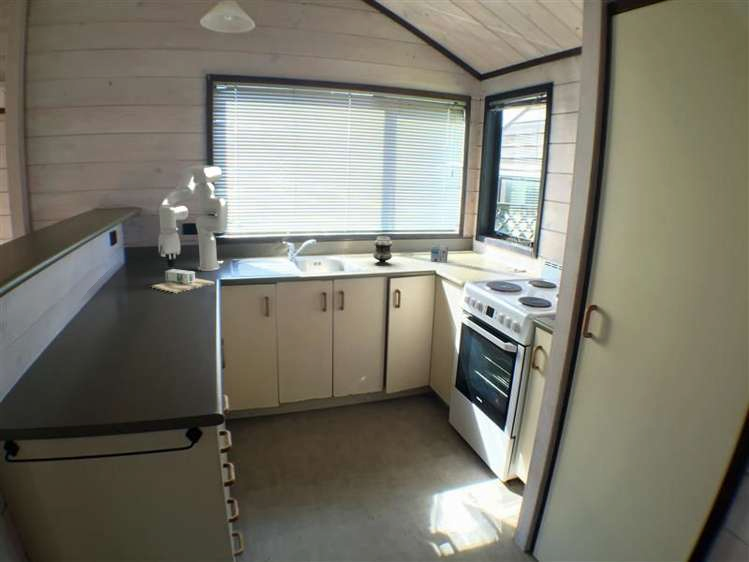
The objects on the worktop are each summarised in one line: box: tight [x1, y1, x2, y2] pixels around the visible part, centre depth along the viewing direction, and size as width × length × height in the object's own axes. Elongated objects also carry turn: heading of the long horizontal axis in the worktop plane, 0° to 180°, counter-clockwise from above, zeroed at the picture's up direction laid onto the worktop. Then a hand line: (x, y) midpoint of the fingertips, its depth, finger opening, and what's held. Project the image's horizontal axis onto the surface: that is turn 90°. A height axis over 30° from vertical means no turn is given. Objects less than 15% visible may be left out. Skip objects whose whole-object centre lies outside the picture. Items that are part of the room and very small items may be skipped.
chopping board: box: [150, 277, 215, 294], centre depth 243 cm, size 24×18×1 cm
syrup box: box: [164, 268, 196, 284], centre depth 246 cm, size 6×6×14 cm
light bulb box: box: [430, 244, 449, 264], centre depth 325 cm, size 11×7×11 cm, turn 73°
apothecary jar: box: [373, 235, 393, 267], centre depth 309 cm, size 12×12×18 cm
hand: (171, 266), depth 245 cm, fingers closed
